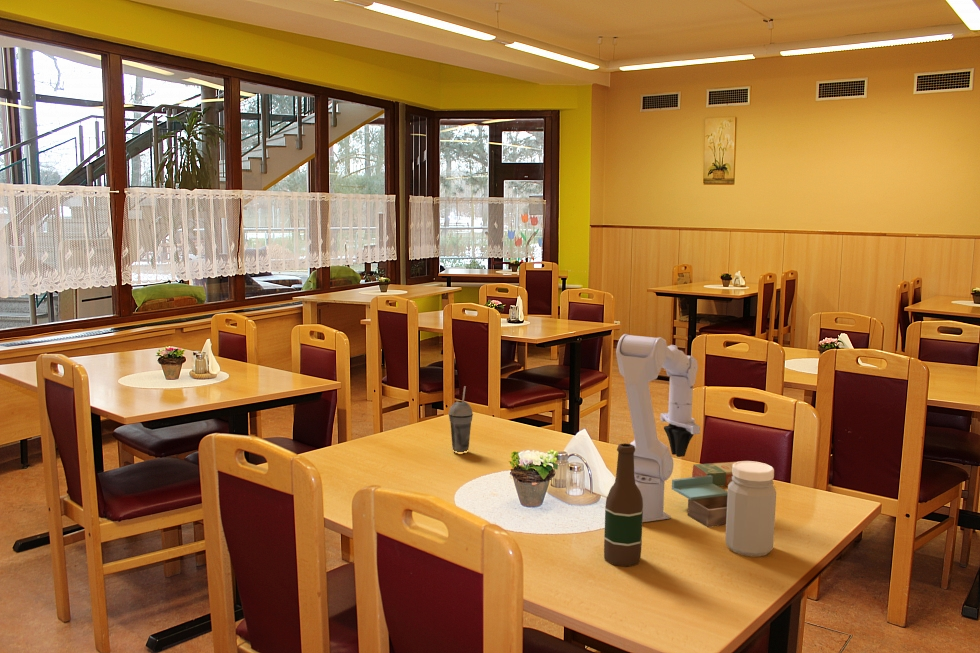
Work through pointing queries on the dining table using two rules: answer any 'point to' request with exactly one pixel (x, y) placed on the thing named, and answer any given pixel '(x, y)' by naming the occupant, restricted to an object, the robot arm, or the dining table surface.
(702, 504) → the box
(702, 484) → the lid
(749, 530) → the jar
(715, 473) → the carton
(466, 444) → the beverage cup
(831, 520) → the dining table surface
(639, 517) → the beer bottle
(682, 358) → the robot arm
